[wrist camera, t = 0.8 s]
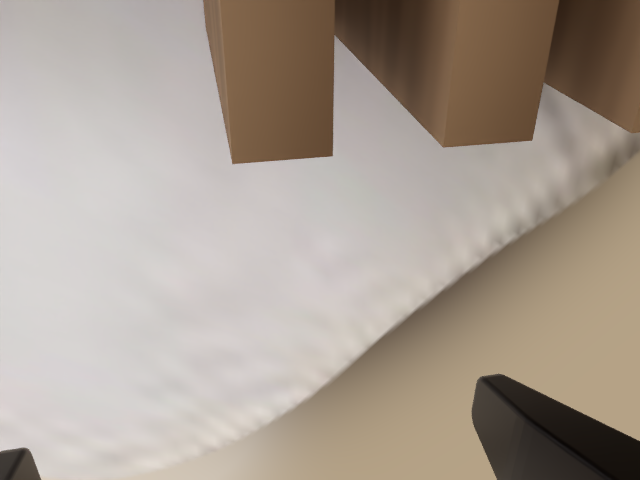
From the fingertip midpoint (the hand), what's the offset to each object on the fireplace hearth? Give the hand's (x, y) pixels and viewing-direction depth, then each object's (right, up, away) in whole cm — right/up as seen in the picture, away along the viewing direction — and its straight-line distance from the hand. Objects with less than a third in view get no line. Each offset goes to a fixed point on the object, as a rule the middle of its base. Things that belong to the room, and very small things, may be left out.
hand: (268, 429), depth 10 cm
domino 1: (-2, +11, +7) cm, 14 cm away
